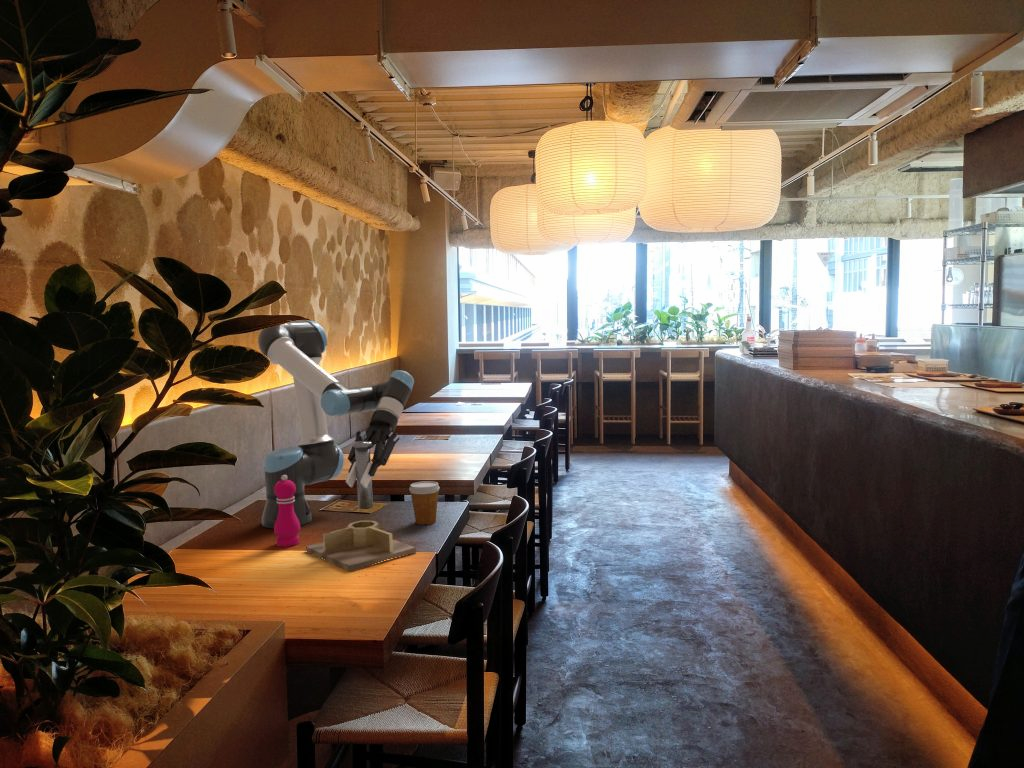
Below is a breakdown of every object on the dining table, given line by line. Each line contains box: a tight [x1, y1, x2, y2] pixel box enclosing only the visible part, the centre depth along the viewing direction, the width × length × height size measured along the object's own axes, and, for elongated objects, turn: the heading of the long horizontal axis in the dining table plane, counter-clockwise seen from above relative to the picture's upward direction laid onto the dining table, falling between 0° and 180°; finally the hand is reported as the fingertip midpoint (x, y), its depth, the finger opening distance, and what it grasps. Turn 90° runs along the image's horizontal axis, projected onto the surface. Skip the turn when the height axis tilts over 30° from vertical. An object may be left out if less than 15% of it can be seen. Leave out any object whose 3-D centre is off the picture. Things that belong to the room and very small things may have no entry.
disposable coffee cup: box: [409, 481, 441, 526], centre depth 223 cm, size 10×10×12 cm
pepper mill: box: [273, 475, 301, 548], centre depth 204 cm, size 7×7×20 cm
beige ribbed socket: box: [322, 520, 394, 553], centre depth 192 cm, size 18×16×5 cm
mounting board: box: [305, 539, 417, 572], centre depth 195 cm, size 24×20×2 cm
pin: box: [352, 441, 374, 510], centre depth 197 cm, size 5×5×18 cm
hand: (356, 484), depth 193 cm, fingers closed on pin, 4 cm apart
